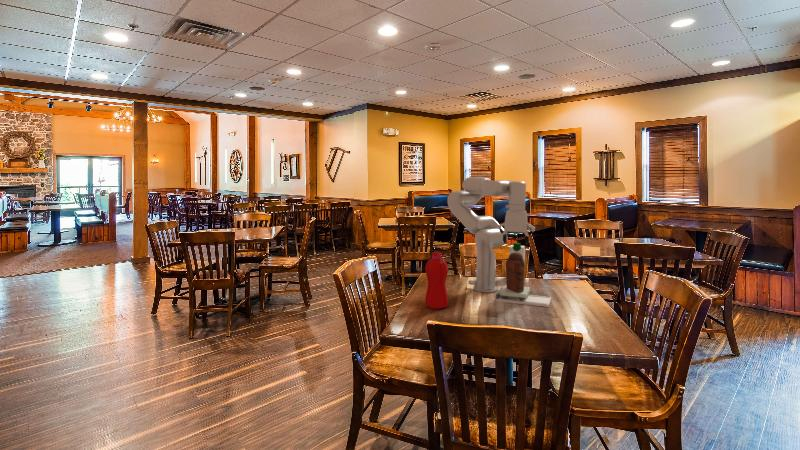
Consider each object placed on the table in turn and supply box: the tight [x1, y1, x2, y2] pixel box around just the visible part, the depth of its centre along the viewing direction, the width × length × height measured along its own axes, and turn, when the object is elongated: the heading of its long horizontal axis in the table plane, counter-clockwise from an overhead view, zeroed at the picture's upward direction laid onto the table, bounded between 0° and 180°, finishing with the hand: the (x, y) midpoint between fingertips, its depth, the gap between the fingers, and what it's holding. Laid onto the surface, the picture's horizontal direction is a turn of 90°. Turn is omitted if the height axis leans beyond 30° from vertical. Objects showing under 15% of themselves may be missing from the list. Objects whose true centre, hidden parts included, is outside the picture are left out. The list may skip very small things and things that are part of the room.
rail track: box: [494, 287, 552, 308], centre depth 212 cm, size 24×13×3 cm, turn 66°
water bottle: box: [424, 251, 449, 310], centre depth 201 cm, size 9×11×25 cm
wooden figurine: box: [505, 252, 525, 292], centre depth 212 cm, size 12×6×18 cm, turn 18°
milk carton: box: [508, 242, 526, 269], centre depth 258 cm, size 9×9×20 cm
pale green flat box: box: [500, 284, 531, 301], centre depth 213 cm, size 12×14×3 cm
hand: (515, 243), depth 211 cm, fingers open, 9 cm apart
